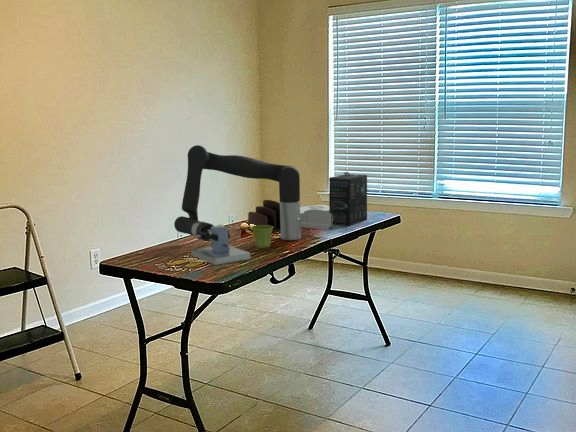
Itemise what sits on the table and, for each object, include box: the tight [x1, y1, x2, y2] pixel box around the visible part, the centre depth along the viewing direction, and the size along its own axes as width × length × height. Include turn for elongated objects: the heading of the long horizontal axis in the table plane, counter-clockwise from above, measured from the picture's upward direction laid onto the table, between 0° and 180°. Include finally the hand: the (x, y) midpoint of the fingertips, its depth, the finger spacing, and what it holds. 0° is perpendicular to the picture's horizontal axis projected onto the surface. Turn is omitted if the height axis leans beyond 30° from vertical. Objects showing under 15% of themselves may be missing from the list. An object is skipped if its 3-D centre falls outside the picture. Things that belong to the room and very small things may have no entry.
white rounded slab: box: [300, 204, 329, 220], centre depth 346 cm, size 19×33×5 cm, turn 116°
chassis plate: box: [191, 245, 251, 266], centre depth 259 cm, size 20×16×2 cm
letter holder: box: [247, 199, 280, 233], centre depth 315 cm, size 10×20×14 cm, turn 31°
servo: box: [210, 224, 230, 254], centre depth 257 cm, size 10×4×12 cm, turn 35°
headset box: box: [328, 171, 368, 227], centre depth 329 cm, size 22×12×26 cm, turn 149°
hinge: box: [301, 209, 334, 230], centre depth 318 cm, size 17×5×10 cm, turn 62°
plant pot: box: [251, 225, 273, 249], centre depth 276 cm, size 9×9×9 cm
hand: (223, 237), depth 255 cm, fingers open, 4 cm apart
